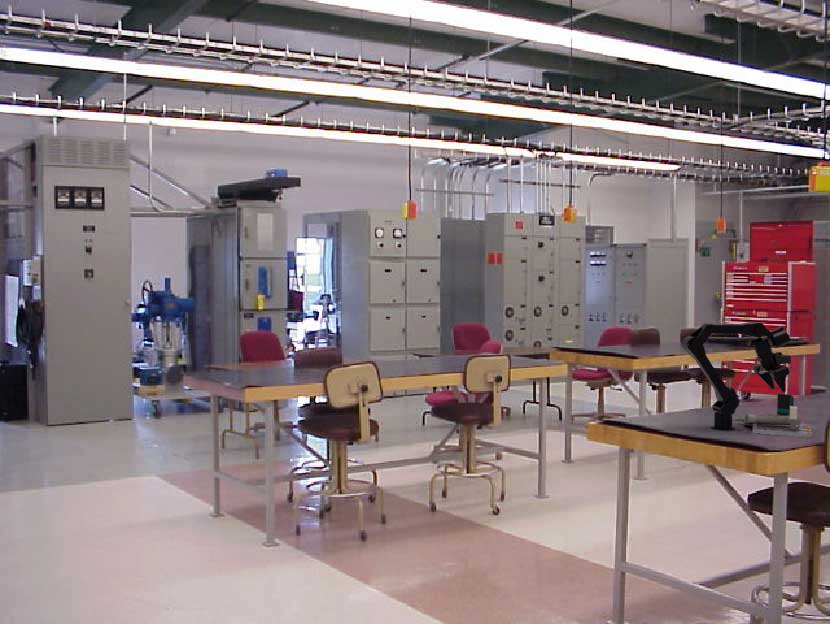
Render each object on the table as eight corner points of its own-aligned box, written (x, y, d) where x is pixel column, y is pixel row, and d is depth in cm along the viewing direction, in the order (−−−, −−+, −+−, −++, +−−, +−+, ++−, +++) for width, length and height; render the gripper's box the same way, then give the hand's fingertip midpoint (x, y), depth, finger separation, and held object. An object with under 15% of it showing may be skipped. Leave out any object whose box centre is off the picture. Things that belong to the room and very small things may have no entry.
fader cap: (789, 429, 316) (790, 407, 316) (789, 427, 320) (790, 406, 320) (796, 430, 315) (797, 408, 315) (796, 428, 319) (797, 406, 319)
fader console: (752, 433, 318) (752, 426, 318) (753, 428, 328) (753, 422, 328) (811, 437, 310) (811, 431, 310) (811, 433, 320) (811, 426, 320)
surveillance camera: (800, 392, 346) (791, 394, 339) (799, 422, 347) (790, 425, 339) (785, 391, 350) (777, 393, 343) (784, 420, 350) (776, 423, 343)
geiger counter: (802, 412, 322) (731, 411, 329) (802, 429, 321) (732, 427, 328) (796, 415, 335) (729, 413, 342) (797, 431, 334) (729, 429, 341)
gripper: (795, 346, 318) (810, 385, 319) (772, 343, 337) (786, 379, 338) (768, 358, 318) (782, 396, 319) (746, 353, 337) (760, 390, 337)
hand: (778, 390), depth 328 cm, fingers open, 9 cm apart
